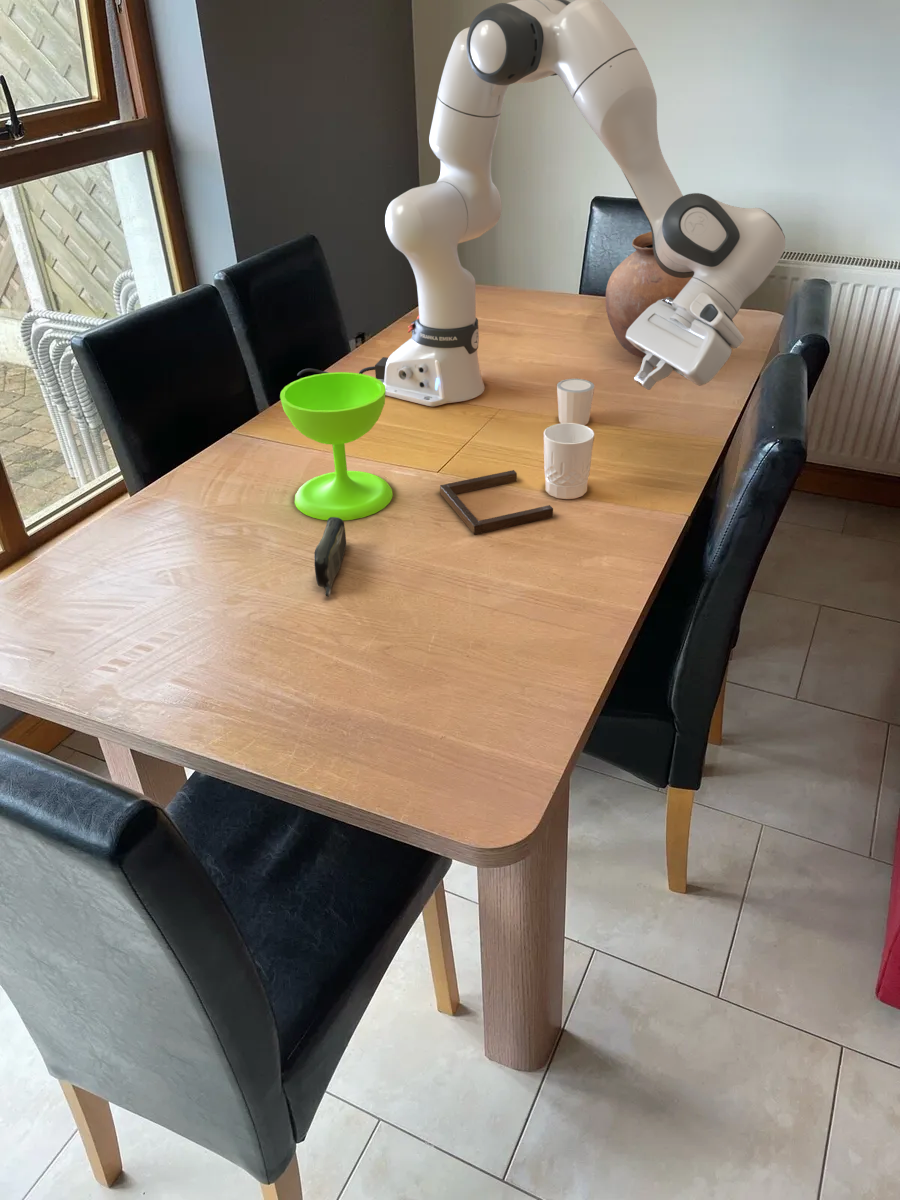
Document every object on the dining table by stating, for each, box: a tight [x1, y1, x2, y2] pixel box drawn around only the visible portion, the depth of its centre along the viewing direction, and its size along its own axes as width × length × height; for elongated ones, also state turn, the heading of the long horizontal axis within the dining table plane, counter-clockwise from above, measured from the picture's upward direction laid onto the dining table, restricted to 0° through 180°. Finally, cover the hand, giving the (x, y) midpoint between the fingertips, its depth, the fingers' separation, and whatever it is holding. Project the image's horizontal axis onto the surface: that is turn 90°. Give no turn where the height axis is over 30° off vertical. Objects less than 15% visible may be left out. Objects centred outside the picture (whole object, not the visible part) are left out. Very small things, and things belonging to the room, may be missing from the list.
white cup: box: [543, 422, 595, 500], centre depth 146 cm, size 8×8×10 cm
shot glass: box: [556, 378, 595, 426], centre depth 170 cm, size 7×7×7 cm
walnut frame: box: [439, 469, 554, 536], centre depth 145 cm, size 13×14×2 cm
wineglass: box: [279, 371, 394, 522], centre depth 144 cm, size 16×16×18 cm
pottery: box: [604, 231, 692, 359], centre depth 193 cm, size 23×23×25 cm
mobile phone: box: [314, 517, 347, 598], centre depth 130 cm, size 5×3×15 cm
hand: (640, 385), depth 144 cm, fingers closed
